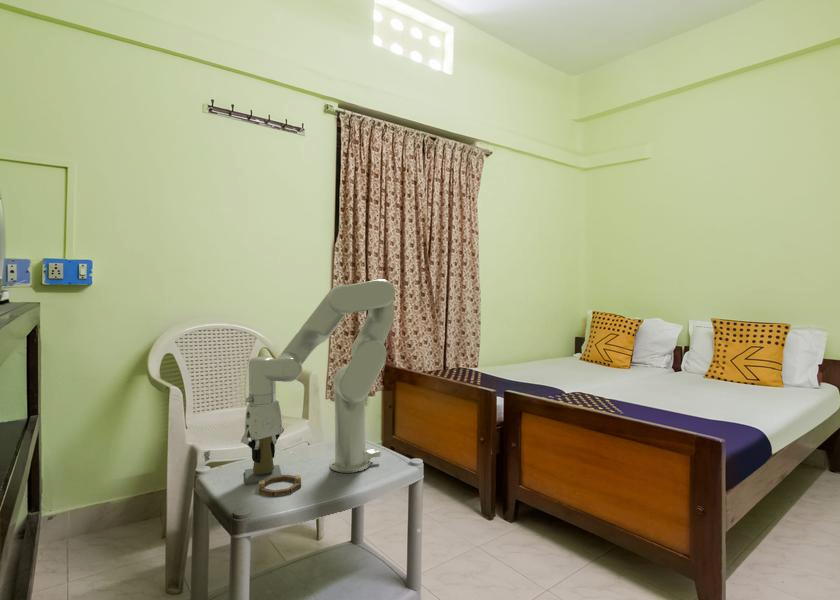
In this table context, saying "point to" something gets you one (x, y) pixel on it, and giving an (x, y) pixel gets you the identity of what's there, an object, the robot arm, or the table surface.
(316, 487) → the table surface
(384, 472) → the table surface
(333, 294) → the robot arm
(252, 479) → the pad
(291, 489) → the collar
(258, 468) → the cork
